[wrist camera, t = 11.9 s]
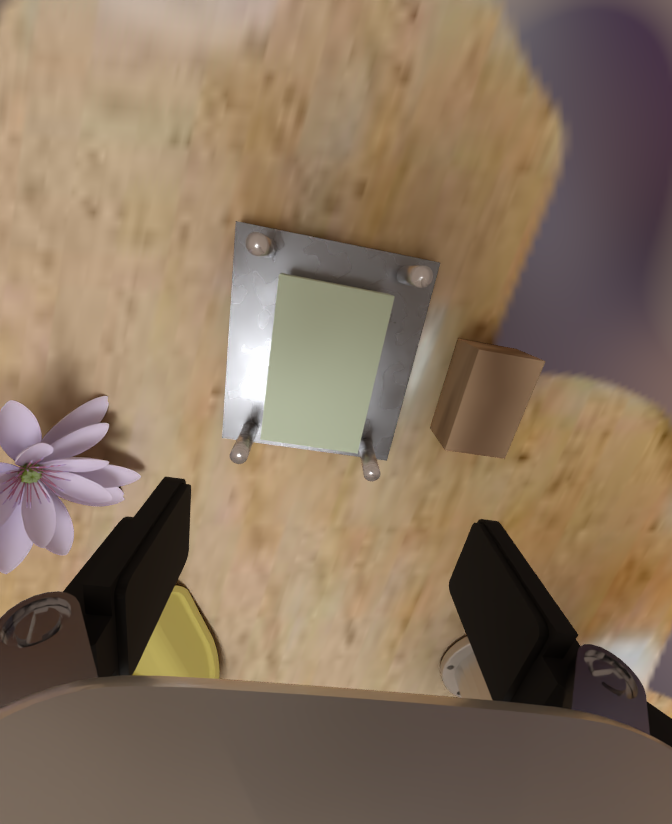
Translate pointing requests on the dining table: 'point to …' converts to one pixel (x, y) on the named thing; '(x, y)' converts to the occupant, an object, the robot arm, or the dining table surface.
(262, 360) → the chassis
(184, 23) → the dining table surface
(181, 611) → the plastic component
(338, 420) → the board
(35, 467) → the water lily
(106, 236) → the dining table surface
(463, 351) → the block
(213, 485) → the dining table surface
